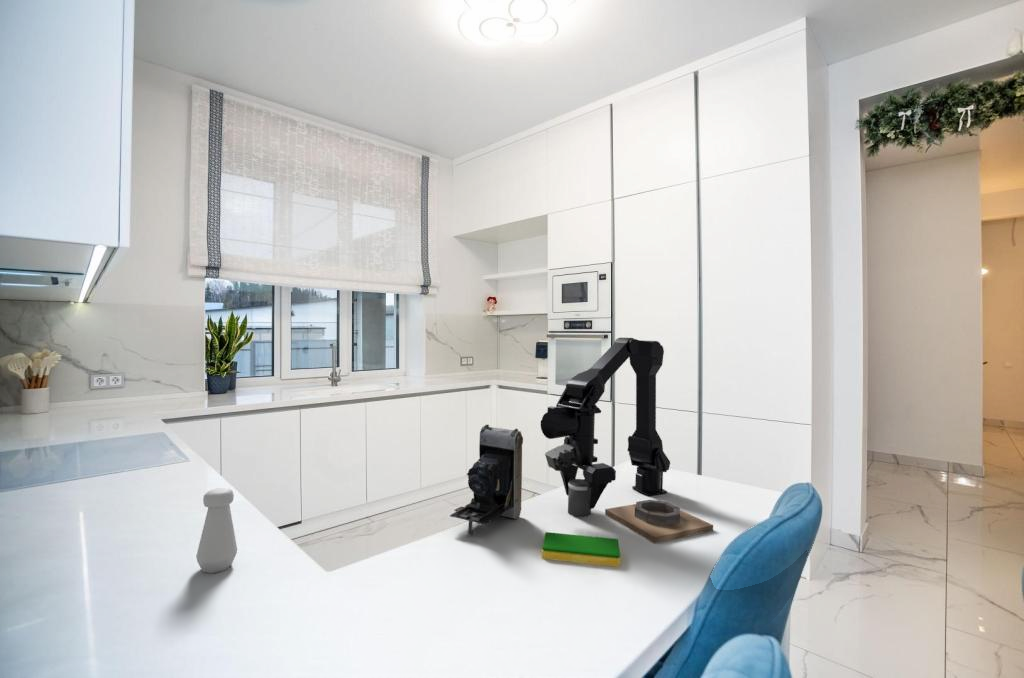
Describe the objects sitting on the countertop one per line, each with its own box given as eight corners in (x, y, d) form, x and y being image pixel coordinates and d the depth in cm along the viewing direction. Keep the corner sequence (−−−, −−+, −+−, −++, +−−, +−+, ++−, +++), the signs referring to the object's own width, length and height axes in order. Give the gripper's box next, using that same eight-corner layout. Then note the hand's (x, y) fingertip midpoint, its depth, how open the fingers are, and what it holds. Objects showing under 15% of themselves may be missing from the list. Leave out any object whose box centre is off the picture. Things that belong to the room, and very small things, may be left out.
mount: (659, 505, 113) (659, 491, 113) (712, 530, 99) (713, 515, 99) (605, 514, 107) (605, 500, 107) (654, 543, 92) (655, 527, 92)
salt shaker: (193, 579, 75) (195, 498, 74) (198, 563, 80) (199, 487, 80) (235, 571, 77) (237, 493, 77) (238, 556, 82) (239, 483, 82)
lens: (582, 507, 111) (583, 477, 111) (595, 515, 106) (596, 484, 106) (563, 510, 108) (564, 480, 108) (575, 518, 104) (576, 487, 104)
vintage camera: (446, 533, 95) (448, 437, 94) (485, 507, 109) (487, 422, 108) (487, 545, 91) (489, 444, 90) (522, 516, 104) (525, 428, 103)
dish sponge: (545, 543, 92) (545, 531, 92) (617, 551, 89) (617, 538, 89) (541, 560, 85) (541, 547, 85) (619, 569, 82) (620, 555, 82)
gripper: (531, 428, 112) (529, 493, 112) (574, 445, 95) (572, 522, 95) (570, 425, 117) (569, 487, 117) (618, 441, 100) (616, 514, 100)
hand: (579, 501), depth 107 cm, fingers open, 9 cm apart
